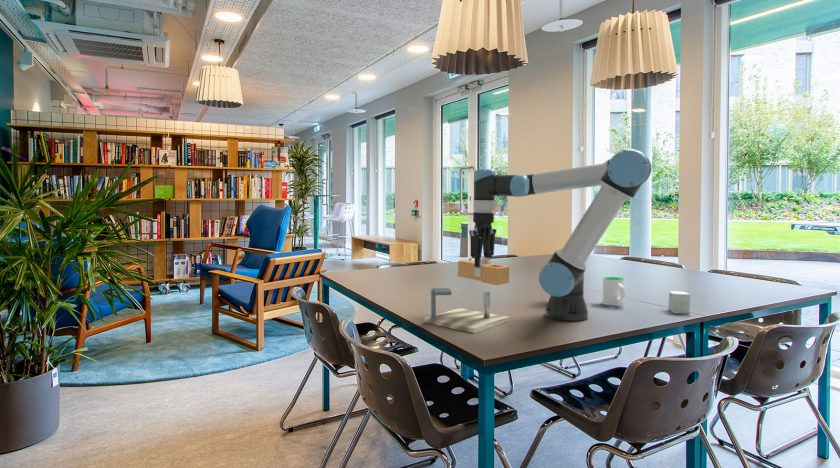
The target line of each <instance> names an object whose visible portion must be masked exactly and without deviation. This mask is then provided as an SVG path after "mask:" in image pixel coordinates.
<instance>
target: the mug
mask: <svg viewBox="0 0 840 468" xmlns="http://www.w3.org/2000/svg"><path fill="white" fill-rule="evenodd" d="M625 297H626V290H625V278H623V277H617V276H604V277H602V304H604V305H606V306H617V307H618V306H623V305H624V301H625Z"/></svg>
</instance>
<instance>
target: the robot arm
mask: <svg viewBox="0 0 840 468" xmlns="http://www.w3.org/2000/svg"><path fill="white" fill-rule="evenodd" d="M651 173H652V163H651V161H650V160H649V158H648V156H647V155H646V154H645V153H643V152H642V151H640V150H637V149H634V148H633V149H632V148H626V149H622V150H620V151H618V152H617V153H615V154H614V155H613V156H612V157H611V158H610V159H606V161H605V162H603V163H597V164H591V165H584V166H578V167H571V168H564V169H559V170H552V171H545V172H540V173H534V174H525V175H522V174H496V170H495V169H491V168H489V169H487V168H486V169H485V168H484V169H483V168H481V169H476V170H475V171H474V178H473V211H474V212H473V213H472V222H473V223H474V227H473V229H471V230H469V231H468V232H469V237H470V239H469V240H470V241H469V242H470V244H469V245H470V257H471V259H474V262H475V265H474V266H475V276H478V277H482V263H486V264H491V263H490V262H491V259H492V258H493V256H494V254H495V244H496V243H495V240H496V234H497V229H496V228H493V227H492V224H493V223H494V222H495V213H494V211H495V199H496V198H495V197H515V198H520V197H527V196H533V195H538V194H547V193H555V192H560V191H569V190H576V189H578V190H579V189H584V188H590V187H598V186H600V189H599V190H598V192H597V193H596V195H595V196H594V198H593V199H592V201H591V202H590V205H589V206H588V208H587V209H586V211H585V212H584V213H583V216H582V217H581V218H580V220H579V221H578V223H577V225H576V226H575V228H574V230H573V231H572V233H571V234H570V236H569V237H568V239H567V240H566V242H565V244H564V246H562V248H559V249H556V250H554V253H553V254H552V255H551V257H550V259H549V260H548V262H547V263H546V264H545V265H543V267H542V268H541V270H540V272H539V276H538V282H539V285H540V287H541V288H542V290H543V291H544V292H545V293H546V294H547V295H549V299H548V301H547V305H546V307H545V312H544V313H545V317H547V318H549V319H552V320H556V321H563V322H564V321H565V322H580V321H585V320H588V318H589V311H588V306H587V304H586V300H585V297H584V288H585V287H584V284H585V283H584V280H585V271H586V270H587V265H586V262H587V260H588V259H589V257H590V255H591V254H592V252H593V251H594V249H595V247H596V246H597V244H598V243H599V242H600V240H601V238H602V237H603V236H604V234H605V232H606V231H607V229H608V228H609V227H610V225H611V223H612V222H613V221H614V219H615V217H616V215H617V214H618V213H619V212H620V210H621V208H622V206H623V205H624V204H625V202H626V201H628V200H632V199H634V197H635V196H636V194H637V192H638V191H639V190H640V188H641V187H642V185H643V184H644V183H645V182H647V180H648V179H649V178H650V176H651V175H652V174H651ZM482 252H483V253H482ZM482 254H483V256H482Z"/></svg>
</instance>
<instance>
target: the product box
mask: <svg viewBox="0 0 840 468" xmlns="http://www.w3.org/2000/svg"><path fill="white" fill-rule="evenodd" d="M690 303H691V294H690V293H688V292H686V291H680V290H679V291H677V290H676V291H675V290H673V291H671V290H669V291H668V307H667V308H668V311H669V312H671V311H672V312H678V313H677V314H687V313H689V314H690ZM672 312H671V313H672Z"/></svg>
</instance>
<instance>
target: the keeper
mask: <svg viewBox="0 0 840 468" xmlns="http://www.w3.org/2000/svg"><path fill="white" fill-rule="evenodd" d="M437 296H452V290H451V288H450V287H433V288H430V316H431V320H436V315H437V311H436V309H437V308H436V307H437V306H436V305H437V301H436V299H437Z"/></svg>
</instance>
